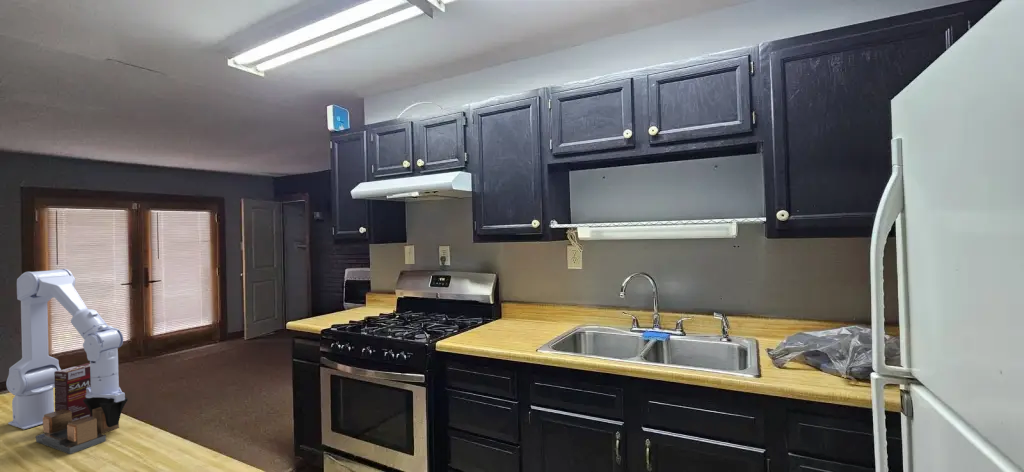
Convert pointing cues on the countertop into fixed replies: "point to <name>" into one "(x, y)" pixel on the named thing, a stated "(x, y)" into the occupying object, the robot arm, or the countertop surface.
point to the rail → (69, 432)
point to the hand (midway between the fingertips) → (106, 423)
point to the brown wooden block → (102, 421)
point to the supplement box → (73, 390)
